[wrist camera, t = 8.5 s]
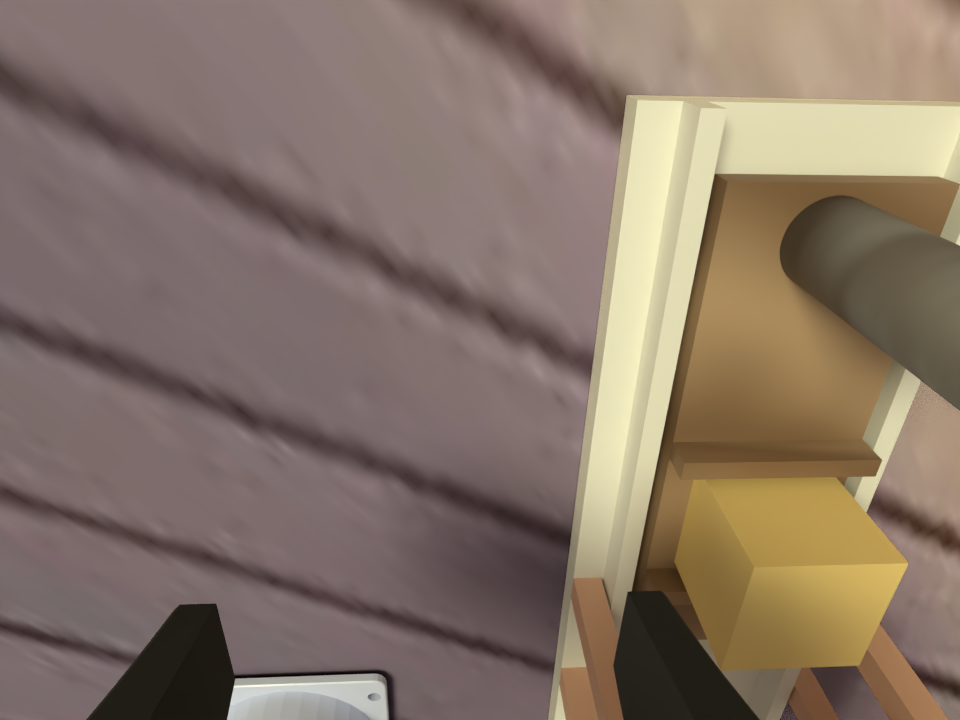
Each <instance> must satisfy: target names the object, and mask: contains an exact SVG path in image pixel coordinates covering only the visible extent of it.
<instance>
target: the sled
mask: <svg viewBox="0 0 960 720" xmlns="http://www.w3.org/2000/svg"><path fill="white" fill-rule="evenodd" d="M959 186H960V184H959V183H956V182H953V181H950V180H947V179H944V178H941V177H938V176H867V175H786V174H715V175H714V180H713V185H712V190H711V195H710V201H709V206H708V211H707V216H706V221H705V226H704V231H703V236H702V241H701V246H700V251H699V256H698V261H697V266H696V271H695V276H694V281H693V286H692V291H691V296H690V301H689V306H688V311H687V316H686V321H685V326H684V331H683V336H682V341H681V346H680V351H679V356H678V361H677V366H676V371H675V376H674V381H673V386H672V391H671V396H670V401H669V406H668V411H667V416H666V421H665V426H664V431H663V437H662V442H661V447H660V452H659V457H658V462H657V467H656V472H655V477H654V482H653V487H652V492H651V497H650V502H649V507H648V512H647V517H646V522H645V527H644V532H643V537H642V542H641V547H640V552H639V557H638V562H637V567H636V572H635V577H634V582H633V587H632V591H662V592H663V593H664V594H665V595H666V596H667V598H668V599H669V600H670V602H671V603H672V605H673V606H674V608H675V609H676V610H677V612H678V613H679V615H680V616H681V618H682V619H683V620H684V622H685V623H686V625H687V626H688V627H689V629H690V630H691V631H692V633H693V634H694V636H695V637H696V638H697V640H707V637H706V635H705V633H704V630H703V628H702V626H701V623H700V621H699V619H698V616H697V614H696V611H695V609H694V607H693V604H692V602H691V600H690V597H689V595H688V593H687V590H686V588H685V586H684V583H683V581H682V579H681V576H680V574H679V572H678V569H677V567H676V564H675V562H674V561H675V556H676V552H677V548H678V544H679V540H680V535H681V531H682V527H683V523H684V519H685V514H686V510H687V506H688V502H689V497H690V493H691V489H692V485H693V481H694V480H712V479H766V478H821V477H836V478H837V479H838V480H839V481H840V482H841V484H842V485H843V486H844V485H845V483H846V480H847V477H875V476H876V474H877V472H878V469H879V467H880V465H881V462H882V459H881V458H880V457H879V456H878V455H877V454H876V453H875V452H874V451H873V450H872V449H871V448H870V447H869V446H868V445H867V444H866V443H865V442H864V441H863V440H862V438H863V436H864V433H865V431H866V428H867V425H868V423H869V420H870V418H871V415H872V412H873V410H874V407H875V405H876V402H877V399H878V397H879V394H880V392H881V389H882V386H883V384H884V381H885V379H886V376H887V373H888V371H889V368H890V366H891V363H892V360H893V359H894V360H895V361H896V362H898V363H899V364H900V365H902V366H903V367H904V368H905V369H907V370H908V371H909V372H911V373H912V374H913V375H915V376H916V377H917V378H918V379H920V380H921V381H922V382H924V383H925V384H926V385H927V386H929V387H930V388H931V389H933V390H934V391H935V392H936V393H938V394H939V395H940V396H942V397H943V398H944V399H945V400H947V401H948V402H949V403H951V404H952V405H953V406H954V407H956V408H957V409H958V410H960V246H959V245H957V244H955V243H953V242H951V241H949V240H946V239H944V238H942V237H940V236H941V233H942V230H943V228H944V225H945V223H946V220H947V217H948V215H949V212H950V210H951V207H952V204H953V202H954V199H955V197H956V194H957V191H958V189H959Z"/></svg>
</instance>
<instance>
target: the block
mask: <svg viewBox="0 0 960 720" xmlns="http://www.w3.org/2000/svg"><path fill="white" fill-rule="evenodd" d="M674 562H675V564H676V567H677V569H678V572H679V574H680V576H681V579H682V581H683V583H684V586H685V588H686V590H687V593H688V595H689V597H690V600H691V602H692V604H693V607H694V609H695V611H696V614H697V616H698V619H699V621H700V623H701V626H702V628H703V630H704V633H705V635H706V637H707V640H708V642H709V644H710V647H711V649H712V651H713V654H714V656H715V658H716V661H717V663H718V665H719V668H720V670H721V671H732V670H758V669H785V668H811V667H838V666H859V665H860V663H861V661H862V659H863V657H864V655H865V653H866V651H867V649H868V646H869V644H870V642H871V640H872V638H873V636H874V634H875V632H876V630H877V628H878V626H879V624H880V622H881V620H882V617H883V615H884V613H885V611H886V609H887V607H888V605H889V603H890V601H891V599H892V597H893V595H894V593H895V591H896V588H897V586H898V584H899V582H900V580H901V578H902V576H903V574H904V572H905V570H906V568H907V566H908V564H909V563H908V562H907V561H906V559H905V558H904V557H903V556H902V555H901V553H900V552H899V551H898V550H897V549H896V548H895V546H894V545H893V544H892V543H891V542H890V540H889V539H888V538H887V537H886V536H885V535H884V533H883V532H882V531H881V530H880V529H879V527H878V526H877V525H876V524H875V523H874V522H873V520H872V519H871V518H870V517H869V516H868V514H867V513H866V512H865V511H864V510H863V509H862V507H861V506H860V505H859V504H858V503H857V501H856V500H855V499H854V498H853V497H852V495H851V494H850V493H849V492H848V491H847V490H846V488H845V487H844V486H843V485H842V484H841V482H840V481H839V480H838V479H837V478H836V477H821V478H766V479H712V480H694V481H693V485H692V489H691V493H690V497H689V502H688V506H687V510H686V514H685V519H684V523H683V527H682V531H681V535H680V540H679V544H678V548H677V552H676V556H675V561H674Z"/></svg>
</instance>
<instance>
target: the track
mask: <svg viewBox="0 0 960 720" xmlns="http://www.w3.org/2000/svg"><path fill="white" fill-rule="evenodd" d="M715 174H786V175H867V176H938V177H941V178H944V179H947V180H950V181H953V182H956V183H959V184H960V102H948V101H898V100H849V99H799V98H749V97H699V96H649V95H627V98H626V106H625V114H624V122H623V130H622V138H621V146H620V154H619V162H618V169H617V177H616V185H615V193H614V201H613V209H612V217H611V225H610V233H609V241H608V249H607V256H606V264H605V272H604V280H603V288H602V296H601V304H600V312H599V320H598V328H597V336H596V344H595V351H594V359H593V367H592V375H591V383H590V391H589V399H588V407H587V415H586V423H585V431H584V439H583V446H582V454H581V462H580V470H579V478H578V486H577V494H576V502H575V510H574V518H573V526H572V533H571V541H570V549H569V557H568V565H567V573H566V581H565V589H564V597H563V605H562V613H561V621H560V628H559V636H558V644H557V652H556V660H555V668H554V676H553V684H552V692H551V700H550V708H549V715H548V720H623V715H622V710H621V705H620V700H619V695H618V689H617V684H616V678H615V673H614V667H613V664H614V659H615V654H616V649H617V643H618V638H619V633H620V628H621V623H622V618H623V613H624V607H625V602H626V597H627V592H630V591H632V587H633V582H634V577H635V572H636V567H637V562H638V557H639V552H640V547H641V542H642V537H643V532H644V527H645V522H646V517H647V512H648V507H649V502H650V497H651V492H652V487H653V482H654V477H655V472H656V467H657V462H658V457H659V452H660V447H661V442H662V437H663V431H664V426H665V421H666V416H667V411H668V406H669V401H670V396H671V391H672V386H673V381H674V376H675V371H676V366H677V361H678V356H679V351H680V346H681V341H682V336H683V331H684V326H685V321H686V316H687V311H688V306H689V301H690V296H691V291H692V286H693V281H694V276H695V271H696V266H697V261H698V256H699V251H700V246H701V241H702V236H703V231H704V226H705V221H706V216H707V211H708V206H709V201H710V195H711V190H712V185H713V180H714V175H715ZM940 237H942V238H944V239H946V240H949V241H951V242H953V243H955V244H957V245H959V246H960V186H959V189H958V191H957V194H956V197H955V199H954V202H953V204H952V207H951V210H950V212H949V215H948V217H947V220H946V223H945V225H944V228H943V230H942V233H941V236H940ZM920 382H921V380H920V379H918V378H917V377H916V376H915V375H913V374H912V373H911V372H909V371H908V370H907V369H905V368H904V367H903V366H902V365H900V364H899V363H898V362H896V361H895V360H894V359H893V360H892V363H891V366H890V368H889V371H888V373H887V376H886V379H885V381H884V384H883V386H882V389H881V392H880V394H879V397H878V399H877V402H876V405H875V407H874V410H873V412H872V415H871V418H870V420H869V423H868V425H867V428H866V431H865V433H864V436H863V438H862V440H863V441H864V442H865V443H866V444H867V445H868V446H869V447H870V448H871V449H872V450H873V451H874V452H875V453H876V454H877V455H878V456H879V457H880V458H881V459H882V462H881V465H880V467H879V469H878V472H877V474H876V476H875V477H847V480H846V483H845V485H844V487H845V488H846V490H847V491H848V492H849V493H850V494H851V495H852V497H853V498H854V499H855V500H856V501H857V503H858V504H859V505H860V506H861V507H862V509H863V510H864V511H865V512H867V510H868V507H869V505H870V502H871V500H872V498H873V495H874V493H875V490H876V488H877V486H878V483H879V481H880V478H881V476H882V474H883V471H884V469H885V466H886V464H887V462H888V459H889V457H890V454H891V452H892V450H893V447H894V445H895V442H896V440H897V438H898V435H899V433H900V430H901V428H902V426H903V423H904V421H905V418H906V416H907V414H908V411H909V409H910V406H911V404H912V402H913V399H914V397H915V394H916V392H917V390H918V387H919V385H920ZM698 641H699V642H700V644H701V645H702V646H703V648H704V649H705V650H706V652H707V653H708V655H709V656H710V657H711V659H712V660H713V661H714V663H715V664H716V665H717V666H718V668H719V665H718V663H717V661H716V658H715V656H714V654H713V651H712V649H711V647H710V644H709V642H708V640H698ZM856 667H857V668H858V670H859V671H860V673H861V675H862V676H863V678H864V679H865V681H866V682H867V684H868V686H869V687H870V689H871V690H872V692H873V693H874V695H875V697H876V698H877V700H878V701H879V703H880V705H881V706H882V708H883V709H884V711H885V712H886V714H887V716H888V717H889V719H890V720H948V718H947V717H946V716H945V714H944V713H943V711H942V710H941V709H940V707H939V706H938V704H937V703H936V702H935V700H934V699H933V697H932V696H931V695H930V693H929V692H928V690H927V689H926V688H925V686H924V685H923V683H922V682H921V681H920V679H919V678H918V676H917V675H916V674H915V672H914V671H913V669H912V668H911V667H910V665H909V664H908V662H907V661H906V660H905V658H904V657H903V655H902V654H901V653H900V651H899V650H898V648H897V647H896V646H895V644H894V643H893V641H892V640H891V639H890V637H889V636H888V634H887V633H886V632H885V630H884V629H883V628H882V626H881V625H880V624H879V626H878V628H877V630H876V632H875V634H874V636H873V638H872V640H871V642H870V644H869V646H868V649H867V651H866V653H865V655H864V657H863V659H862V661H861V663H860V665H859V666H856ZM719 669H720V668H719ZM721 672H722V673H723V674H724V676H725V677H726V678H727V679H728V681H729V682H730V683H731V684H732V686H733V687H734V688H735V689H736V691H737V692H738V693H739V694H740V696H741V697H742V698H743V699H744V701H745V702H746V703H747V704H748V706H749V707H750V708H751V709H752V711H753V712H754V713H755V714H756V716H757V717H758V718H759V719H760V720H780V718H781V716H782V713H783V711H784V709H785V706H786V704H787V701H788V702H789V704H790V706H791V708H792V710H793V712H794V714H795V716H796V718H797V720H839V718H838V716H837V715H836V713H835V711H834V709H833V707H832V706H831V704H830V702H829V700H828V699H827V697H826V695H825V693H824V691H823V690H822V688H821V686H820V684H819V683H818V681H817V679H816V677H815V675H814V674H813V672H812V670H811V668H785V669H758V670H732V671H721Z"/></svg>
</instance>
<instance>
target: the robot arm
mask: <svg viewBox="0 0 960 720" xmlns="http://www.w3.org/2000/svg"><path fill="white" fill-rule="evenodd" d="M613 667H614V673H615V678H616V684H617V689H618V695H619V700H620V705H621V710H622V715H623V720H760V719H759V718H758V717H757V716H756V714H755V713H754V712H753V711H752V709H751V708H750V707H749V706H748V704H747V703H746V702H745V701H744V699H743V698H742V697H741V696H740V694H739V693H738V692H737V691H736V689H735V688H734V687H733V686H732V684H731V683H730V682H729V681H728V679H727V678H726V677H725V676H724V674H723V673H722V672H721V670H720V669H719V668H718V666H717V665H716V664H715V663H714V661H713V660H712V659H711V657H710V656H709V655H708V653H707V652H706V650H705V649H704V648H703V646H702V645H701V644H700V642H699V641H698V640H697V638H696V637H695V636H694V634H693V633H692V631H691V630H690V629H689V627H688V626H687V625H686V623H685V622H684V620H683V619H682V618H681V616H680V615H679V613H678V612H677V610H676V609H675V608H674V606H673V605H672V603H671V602H670V600H669V599H668V598H667V596H666V595H665V594H664V593H663V592H662V591H630V592H627V597H626V602H625V607H624V613H623V618H622V623H621V628H620V633H619V638H618V643H617V649H616V654H615V659H614V664H613ZM87 720H389V708H388V694H387V681H386V678H385V677H383V676H382V675H380V674H375V673H371V674H344V675H317V676H290V677H262V678H235V677H234V673H233V669H232V665H231V661H230V657H229V653H228V649H227V645H226V641H225V637H224V633H223V629H222V625H221V621H220V617H219V613H218V609H217V605H216V604H189V605H179V606H178V607H177V608H176V609H175V610H174V611H173V612H172V613H171V615H170V616H169V617H168V619H167V620H166V621H165V623H164V624H163V625H162V626H161V628H160V629H159V630H158V632H157V633H156V634H155V635H154V637H153V638H152V639H151V641H150V642H149V643H148V644H147V646H146V647H145V648H144V650H143V651H142V652H141V653H140V655H139V656H138V657H137V659H136V660H135V661H134V662H133V664H132V665H131V666H130V667H129V669H128V670H127V671H126V672H125V674H124V675H123V676H122V677H121V679H120V680H119V681H118V682H117V684H116V685H115V686H114V687H113V688H112V690H111V691H110V692H109V693H108V694H107V696H106V697H105V698H104V699H103V700H102V702H101V703H100V704H99V705H98V706H97V708H96V709H95V710H94V711H93V712H92V714H91V715H90V716H89V717H88V718H87Z"/></svg>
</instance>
